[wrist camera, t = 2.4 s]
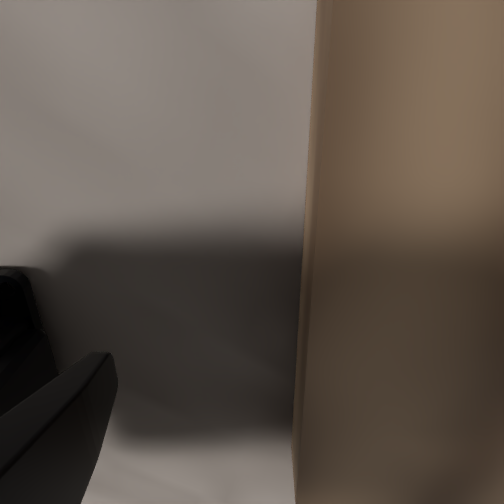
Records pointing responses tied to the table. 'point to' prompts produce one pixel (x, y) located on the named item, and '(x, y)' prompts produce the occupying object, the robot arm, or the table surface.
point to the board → (403, 257)
